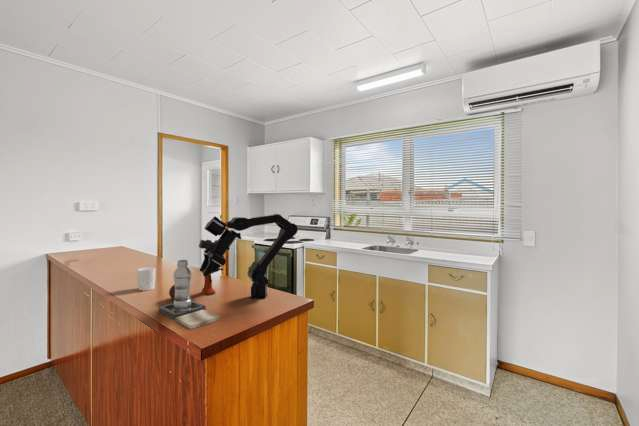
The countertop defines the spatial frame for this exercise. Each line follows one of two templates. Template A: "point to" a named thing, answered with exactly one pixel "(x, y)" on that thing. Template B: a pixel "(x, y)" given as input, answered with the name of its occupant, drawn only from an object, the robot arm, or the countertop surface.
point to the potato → (172, 292)
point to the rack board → (197, 319)
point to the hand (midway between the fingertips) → (202, 273)
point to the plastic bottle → (182, 287)
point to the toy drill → (209, 283)
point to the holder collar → (167, 311)
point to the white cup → (146, 278)
